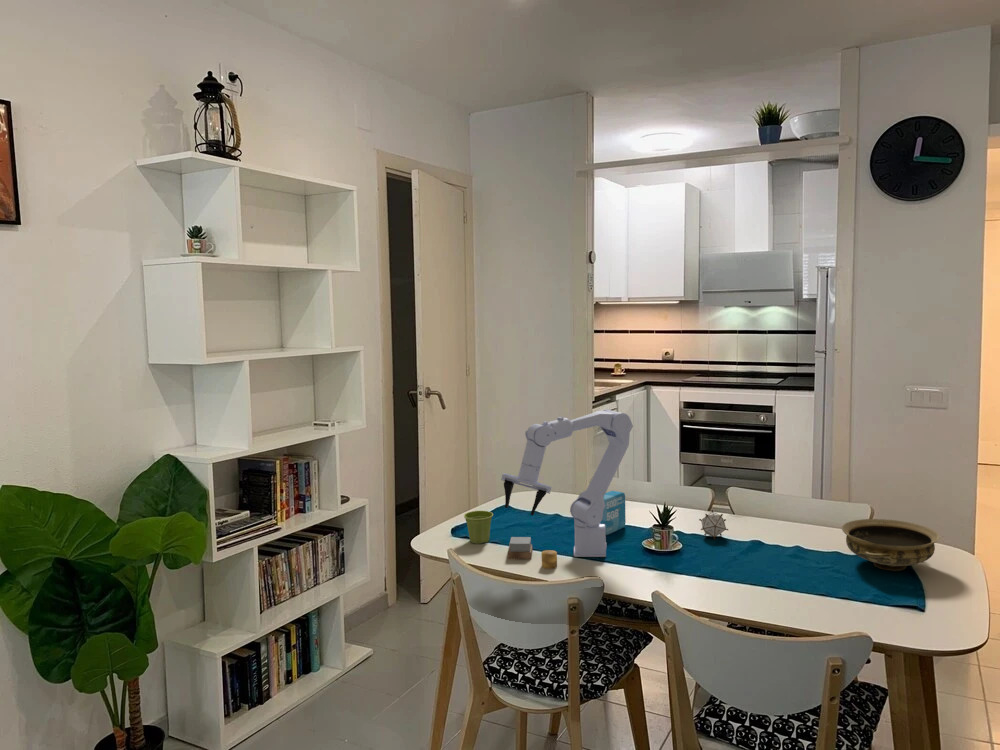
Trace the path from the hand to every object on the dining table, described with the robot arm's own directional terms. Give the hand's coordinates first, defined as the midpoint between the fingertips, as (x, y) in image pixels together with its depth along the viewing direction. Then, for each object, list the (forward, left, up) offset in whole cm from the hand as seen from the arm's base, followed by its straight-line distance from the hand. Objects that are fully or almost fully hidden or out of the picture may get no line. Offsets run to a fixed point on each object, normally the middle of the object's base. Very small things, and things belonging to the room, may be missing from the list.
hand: (519, 511), depth 218 cm
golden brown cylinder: (-8, +1, -16) cm, 18 cm away
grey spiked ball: (-59, -25, -16) cm, 67 cm away
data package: (-27, -32, -16) cm, 45 cm away
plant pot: (+15, -21, -16) cm, 31 cm away
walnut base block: (+1, -8, -17) cm, 19 cm away
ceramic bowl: (-102, 0, -16) cm, 104 cm away
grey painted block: (+1, -9, -14) cm, 16 cm away
